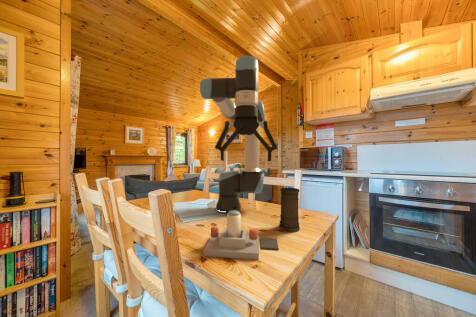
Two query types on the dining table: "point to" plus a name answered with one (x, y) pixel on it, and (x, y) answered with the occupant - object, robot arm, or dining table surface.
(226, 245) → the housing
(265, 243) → the mat
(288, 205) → the container
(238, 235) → the cylinder
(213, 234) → the plunger
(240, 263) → the dining table surface
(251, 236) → the plunger
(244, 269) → the dining table surface
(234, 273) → the dining table surface
